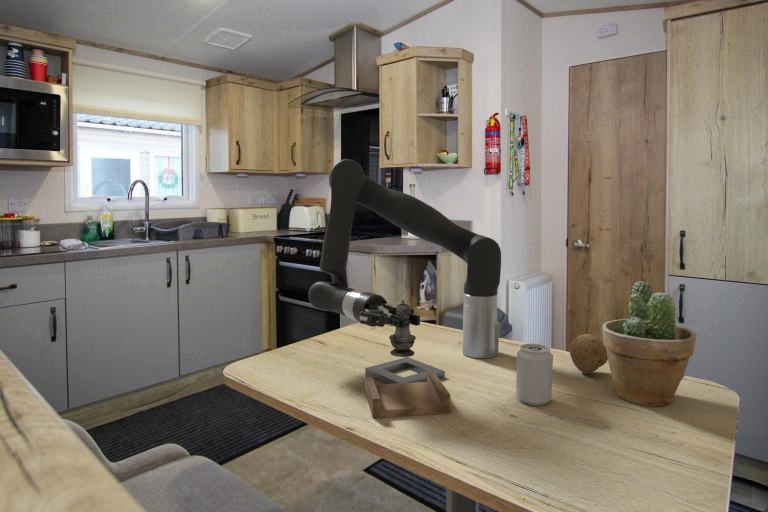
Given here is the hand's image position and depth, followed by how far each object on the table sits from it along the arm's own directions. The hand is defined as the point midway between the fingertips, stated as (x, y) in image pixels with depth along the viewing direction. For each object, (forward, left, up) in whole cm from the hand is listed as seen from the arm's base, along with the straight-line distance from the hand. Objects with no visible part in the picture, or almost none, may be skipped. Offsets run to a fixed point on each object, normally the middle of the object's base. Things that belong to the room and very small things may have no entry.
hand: (411, 322), depth 109 cm
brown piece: (+1, 0, -18) cm, 18 cm away
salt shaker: (+1, -3, -8) cm, 8 cm away
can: (-27, +3, -18) cm, 32 cm away
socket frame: (-2, -16, -18) cm, 24 cm away
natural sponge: (-48, -11, -18) cm, 52 cm away
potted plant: (-52, +5, -18) cm, 55 cm away
